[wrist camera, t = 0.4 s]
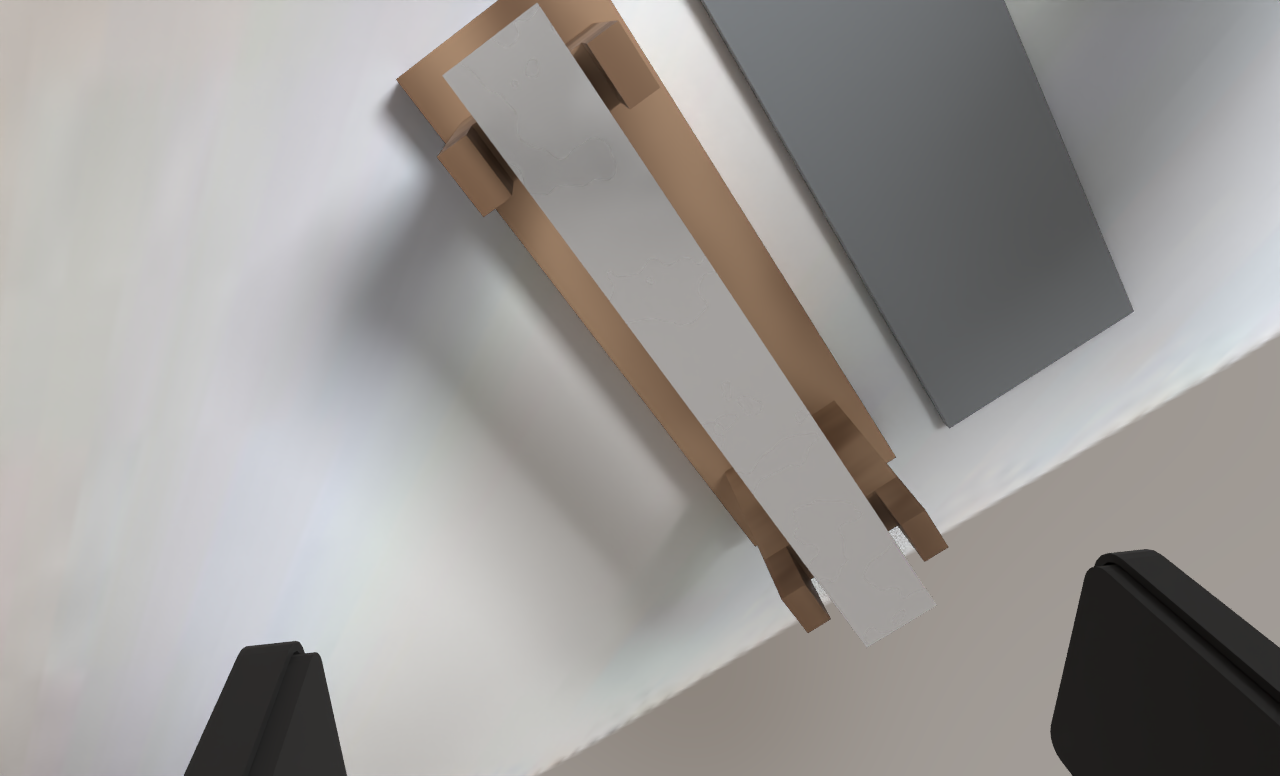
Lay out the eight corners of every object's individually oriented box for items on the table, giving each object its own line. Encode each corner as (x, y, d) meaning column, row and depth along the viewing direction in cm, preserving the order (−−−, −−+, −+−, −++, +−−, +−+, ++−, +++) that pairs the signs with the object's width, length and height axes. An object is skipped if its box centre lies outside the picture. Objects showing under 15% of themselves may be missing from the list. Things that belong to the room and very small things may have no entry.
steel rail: (536, 6, 23) (537, 2, 20) (902, 557, 33) (937, 605, 30) (452, 70, 24) (442, 75, 21) (838, 596, 33) (866, 648, 30)
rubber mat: (862, -321, 28) (867, -326, 28) (1127, 308, 39) (1133, 311, 39) (623, -134, 29) (624, -136, 29) (944, 423, 40) (949, 428, 40)
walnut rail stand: (572, -55, 30) (593, -97, 20) (883, 442, 40) (999, 576, 30) (401, 77, 31) (343, 99, 21) (747, 529, 41) (816, 686, 32)
